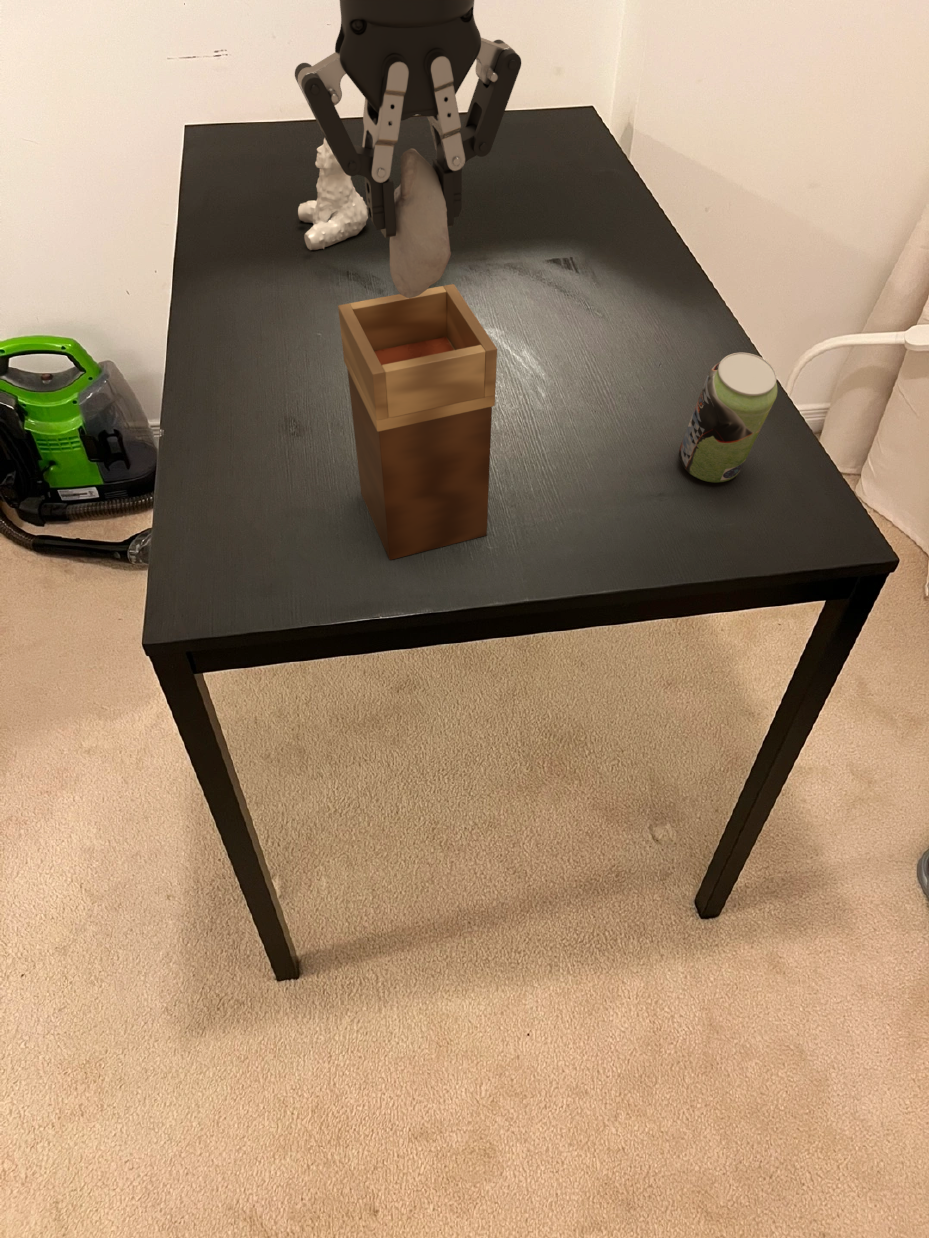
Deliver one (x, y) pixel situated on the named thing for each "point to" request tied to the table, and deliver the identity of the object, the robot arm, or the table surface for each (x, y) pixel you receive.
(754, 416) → the beverage can
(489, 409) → the plinth
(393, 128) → the robot arm
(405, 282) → the fossil
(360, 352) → the open wooden box
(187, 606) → the table surface
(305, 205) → the white creature statuette
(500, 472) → the table surface
